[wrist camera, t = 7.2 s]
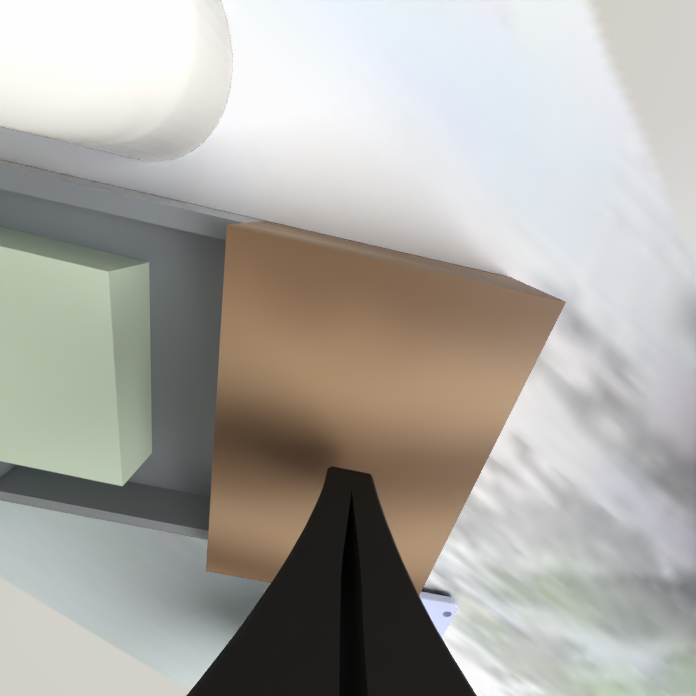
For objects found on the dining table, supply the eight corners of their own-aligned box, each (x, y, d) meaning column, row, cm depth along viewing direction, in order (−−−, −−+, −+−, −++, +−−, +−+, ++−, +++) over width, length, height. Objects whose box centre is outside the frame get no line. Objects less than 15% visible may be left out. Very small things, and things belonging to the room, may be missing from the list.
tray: (236, 501, 17) (218, 542, 15) (23, 460, 16) (-26, 495, 14) (266, 220, 11) (244, 223, 9) (-54, 147, 11) (-150, 132, 9)
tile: (-27, 455, 13) (22, 425, 15) (122, 486, 13) (152, 452, 15) (-97, 223, 9) (-22, 221, 11) (108, 271, 10) (149, 262, 12)
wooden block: (403, 534, 17) (412, 609, 14) (236, 501, 17) (206, 570, 14) (510, 277, 12) (566, 302, 8) (266, 220, 11) (227, 224, 8)
